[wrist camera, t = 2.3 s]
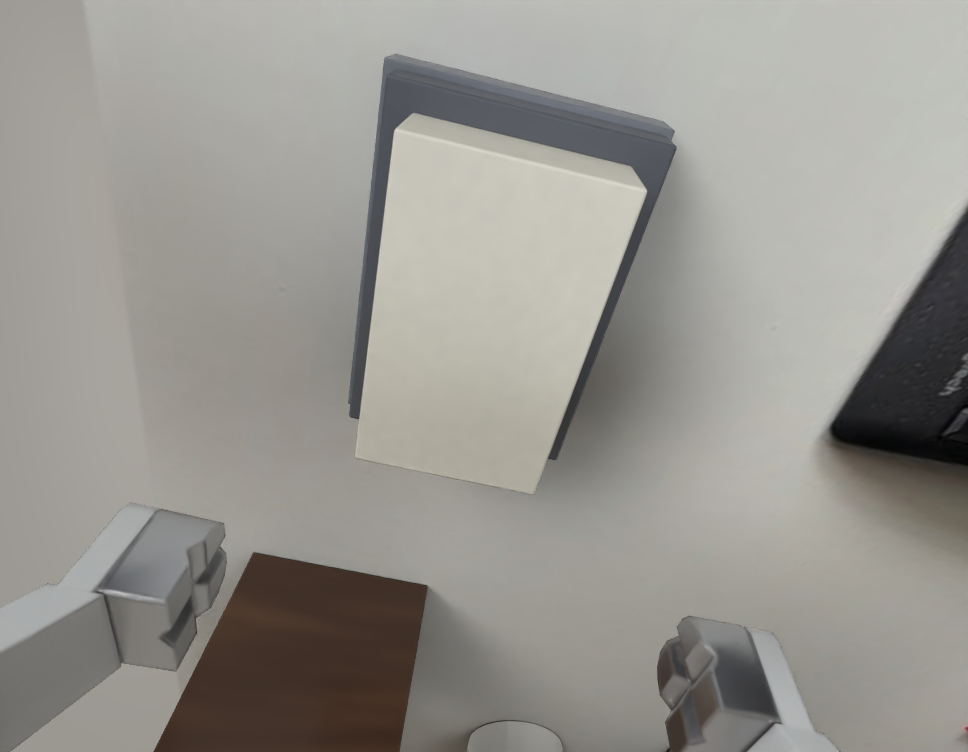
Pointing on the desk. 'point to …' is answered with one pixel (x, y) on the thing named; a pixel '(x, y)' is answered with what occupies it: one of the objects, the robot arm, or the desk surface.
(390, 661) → the walnut shelf
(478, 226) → the ivory book
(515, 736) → the cup
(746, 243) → the desk surface
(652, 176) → the grey books
